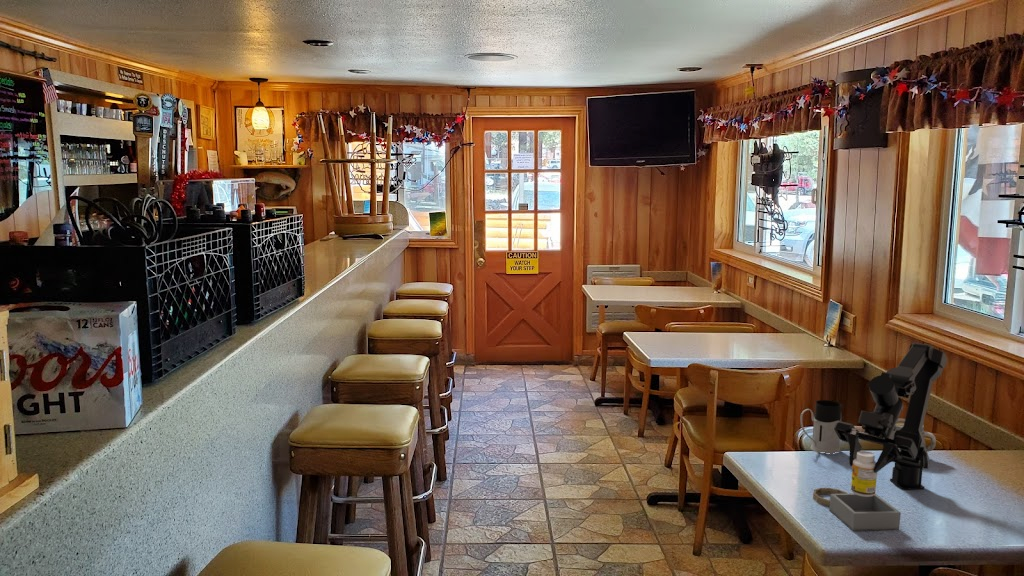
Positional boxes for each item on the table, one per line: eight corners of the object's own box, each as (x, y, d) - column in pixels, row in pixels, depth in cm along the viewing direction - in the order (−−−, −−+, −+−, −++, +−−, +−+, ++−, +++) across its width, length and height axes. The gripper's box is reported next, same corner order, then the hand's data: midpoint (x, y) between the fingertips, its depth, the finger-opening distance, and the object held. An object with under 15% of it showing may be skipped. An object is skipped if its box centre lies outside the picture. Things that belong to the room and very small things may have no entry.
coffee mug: (880, 454, 234) (883, 423, 232) (890, 446, 241) (893, 416, 239) (928, 465, 225) (931, 433, 223) (937, 457, 232) (940, 425, 231)
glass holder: (846, 453, 235) (850, 406, 233) (807, 457, 231) (811, 409, 229) (827, 443, 243) (830, 398, 241) (789, 447, 239) (792, 401, 237)
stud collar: (840, 492, 204) (840, 487, 204) (857, 507, 195) (858, 501, 195) (807, 493, 204) (807, 488, 203) (823, 507, 195) (823, 502, 194)
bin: (873, 509, 194) (874, 492, 193) (899, 530, 182) (900, 512, 182) (829, 510, 193) (830, 493, 192) (852, 531, 182) (854, 513, 181)
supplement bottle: (853, 486, 191) (856, 448, 190) (877, 492, 188) (880, 452, 187) (848, 494, 187) (851, 454, 185) (872, 499, 184) (876, 459, 182)
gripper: (839, 390, 194) (816, 441, 188) (916, 407, 180) (893, 462, 174) (851, 414, 200) (829, 464, 194) (927, 431, 186) (905, 486, 180)
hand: (862, 468), depth 186 cm, fingers closed on supplement bottle, 5 cm apart
